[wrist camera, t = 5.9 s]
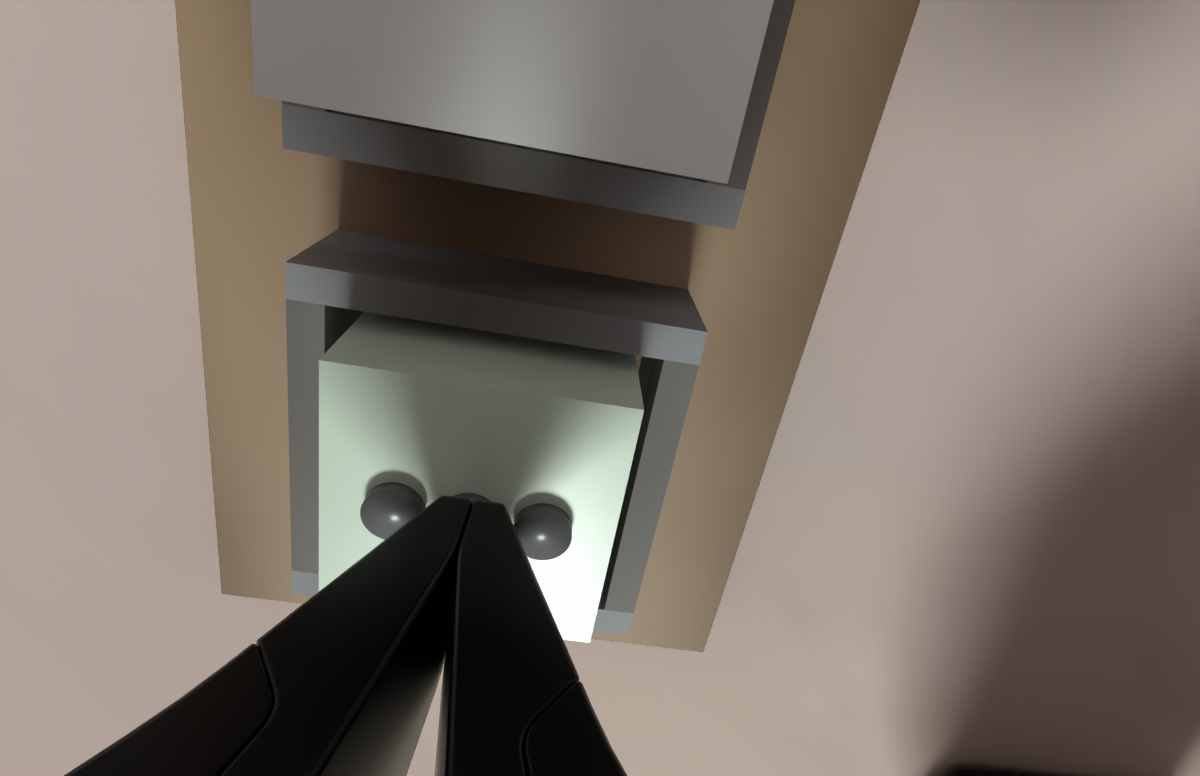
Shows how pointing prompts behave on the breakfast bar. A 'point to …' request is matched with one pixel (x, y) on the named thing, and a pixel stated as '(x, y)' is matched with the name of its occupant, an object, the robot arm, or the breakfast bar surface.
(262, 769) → the robot arm
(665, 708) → the breakfast bar surface
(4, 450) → the breakfast bar surface
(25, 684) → the breakfast bar surface
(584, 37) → the button white
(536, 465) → the button sage
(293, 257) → the button board
